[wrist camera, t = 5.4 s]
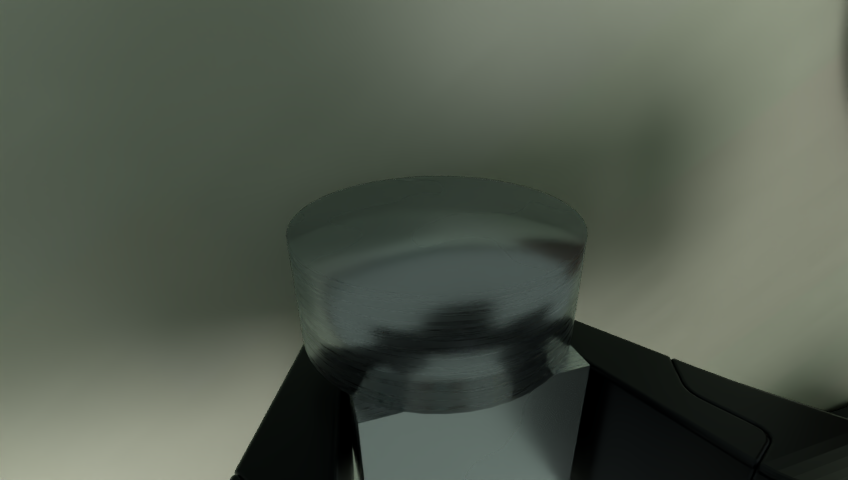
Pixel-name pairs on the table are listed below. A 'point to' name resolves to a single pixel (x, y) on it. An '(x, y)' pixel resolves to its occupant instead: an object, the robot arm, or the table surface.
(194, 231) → the table surface
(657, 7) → the table surface
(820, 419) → the robot arm
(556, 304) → the shaft
